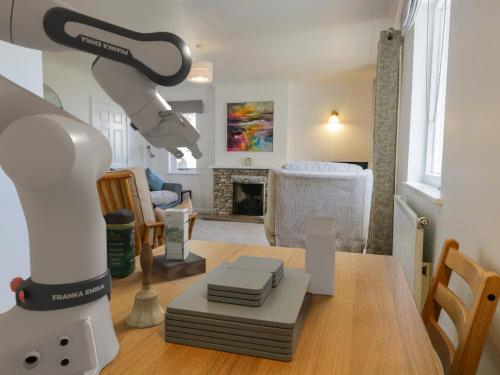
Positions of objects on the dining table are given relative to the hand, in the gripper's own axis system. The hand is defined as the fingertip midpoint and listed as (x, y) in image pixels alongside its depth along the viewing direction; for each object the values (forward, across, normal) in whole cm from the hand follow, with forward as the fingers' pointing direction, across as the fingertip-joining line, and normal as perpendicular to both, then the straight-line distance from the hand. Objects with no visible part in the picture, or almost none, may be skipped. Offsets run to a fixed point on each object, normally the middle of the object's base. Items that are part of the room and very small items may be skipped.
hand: (190, 157), depth 86 cm
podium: (+26, +14, +21) cm, 36 cm away
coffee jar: (+16, +22, +31) cm, 42 cm away
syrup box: (+23, +14, +19) cm, 33 cm away
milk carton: (+42, -21, +6) cm, 47 cm away
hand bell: (+13, -10, +35) cm, 38 cm away
